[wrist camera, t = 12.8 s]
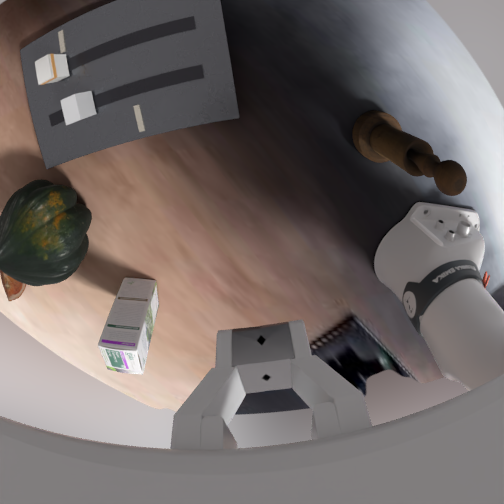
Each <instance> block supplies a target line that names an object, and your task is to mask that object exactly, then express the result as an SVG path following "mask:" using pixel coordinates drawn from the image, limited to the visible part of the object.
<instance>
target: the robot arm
mask: <svg viewBox="0 0 504 504" xmlns="http://www.w3.org/2000/svg"><path fill="white" fill-rule="evenodd" d="M425 210H426V211H425ZM424 211H425V212H424ZM479 227H480V223H479V216H478V213H477V212H476V211H475V210H471V209H465V208H459V207H452V206H445V205H439V204H431V203H424V202H417V203H416V204H414V205H413V206H412V208H411V209H410V211H409V212H408V214H407V215H406V217H405V218H404V219H403V220H402V221H400V222H399V223H398V224H396V225H395V226H394V227H393V228H392V229H391V230H390V231H389V232H388V233H387V234H386V235H385V237H384V238H383V239H382V241H381V243H380V245H379V247H378V249H377V251H376V255H375V259H374V269H375V273H376V276H377V277H378V279H379V280H380V281H381V282H382V283H383V284H385V285H386V286H387V287H388V288H389V289H390V290H391V291H392V292H393V293H394V294H395V295H396V296H397V297H398V298H399V299H400V301H401V302H402V303H403V306H404V308H405V310H406V313H407V315H408V317H409V319H410V320H411V322H412V324H413V326H414V327H415V329H416V331H417V332H418V334H419V335H420V336H421V337H423V338H424V339H425V341H426V343H427V345H428V347H429V349H430V351H431V353H432V355H433V357H434V359H435V360H436V362H437V364H438V366H439V368H440V371H441V373H442V374H443V376H444V377H445V378H447V379H449V380H451V381H458V382H460V383H461V384H462V385H463V386H464V387H465V388H466V389H467V390H468V392H466V393H464V394H462V395H460V396H457V397H455V398H453V399H451V400H448V401H446V402H443V403H441V404H438V405H436V406H433V407H431V408H428V409H425V410H423V411H420V412H417V413H415V414H411V415H409V416H405V417H402V418H400V419H396V420H393V421H390V422H386V423H383V424H380V425H376V426H372V424H371V420H370V417H369V413H368V410H367V406H366V403H365V400H364V396H363V393H361V392H360V391H359V390H358V389H357V388H355V387H354V386H353V385H352V384H350V383H349V382H348V381H347V380H345V379H344V378H343V377H342V376H340V375H339V374H338V373H337V372H336V371H334V370H333V369H332V368H331V367H330V366H328V365H327V364H326V363H325V362H323V361H322V360H321V359H320V358H319V357H317V356H316V355H314V356H312V355H311V350H310V346H309V342H308V338H307V333H306V329H305V325H304V321H303V320H297V321H290V322H283V323H277V324H270V325H263V326H259V327H249V328H239V329H230V330H219V331H218V333H217V344H216V367H215V368H211V370H210V371H209V372H208V373H207V375H206V376H205V377H204V379H203V380H202V381H201V382H200V384H199V385H198V386H197V387H196V389H195V390H194V391H193V392H192V394H191V395H190V396H189V397H188V399H187V400H186V401H185V402H184V404H183V405H182V406H181V407H180V408H179V410H178V411H177V412H176V413H175V415H174V420H173V430H172V439H171V449H160V448H146V447H136V446H127V445H119V444H111V443H105V442H98V441H92V440H87V439H82V438H77V437H71V436H67V435H63V434H58V433H54V432H50V431H46V430H43V429H39V428H36V427H32V426H29V425H26V424H22V423H19V422H16V421H13V420H10V419H7V418H5V417H1V416H0V504H504V311H503V310H502V308H501V307H500V306H499V305H498V303H497V302H496V301H495V300H494V299H493V297H492V296H491V295H490V294H489V293H488V291H487V290H486V289H485V288H486V286H487V283H488V281H489V278H490V275H489V276H488V278H487V272H485V274H484V277H483V280H482V278H481V275H480V273H479V271H480V268H481V265H482V261H483V257H484V251H485V243H484V239H483V237H482V235H481V234H480V232H479ZM486 278H487V280H486ZM287 388H293V390H294V391H295V392H296V393H297V394H298V395H299V396H300V397H301V398H302V400H303V401H304V402H305V403H306V404H307V405H308V406H309V407H310V408H311V409H312V410H313V416H312V429H311V438H312V440H309V441H303V442H297V443H289V444H281V445H273V446H264V447H252V448H239V449H238V448H237V442H236V440H235V439H234V437H233V435H232V434H231V432H230V430H229V428H228V427H227V426H228V425H229V423H230V421H231V420H232V418H233V416H234V414H235V413H236V411H237V409H238V408H239V406H240V404H241V402H242V401H243V399H244V397H245V395H246V393H254V392H262V391H268V390H278V389H287Z"/></svg>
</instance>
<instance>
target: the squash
mask: <svg viewBox="0 0 504 504" xmlns="http://www.w3.org/2000/svg"><path fill="white" fill-rule="evenodd" d="M91 220H92V216H91V212H90V210H89V209H88V208H87V207H86V206H84V205H83V204H77V195H76V192H75V190H74V189H73V188H70V187H68V186H65V185H54V184H53V183H51V182H49V181H47V180H35V181H33V182H30V183H29V184H27V185H26V186H24V187H23V188H21V189H19V190H18V191H16V192H15V193H14V194H13V195H12V196H11V198H10V199H9V200H8V202H7V204H6V206H5V208H4V210H3V212H2V214H1V216H0V270H1V271H2V272H4V273H5V274H6V275H8V276H10V277H11V278H13V279H15V280H17V281H19V282H21V283H24V284H28V285H31V286H42V285H48V284H56V283H59V282H62V281H64V280H66V279H67V278H68V277H69V276H71V275H72V274H73V273H74V272H75V271H76V270H77V268H78V267H79V264H80V263H81V261H82V260H83V259H84V257H85V255H86V253H87V250H88V245H89V240H88V236H87V234H86V232H87V231H88V228H89V226H90V223H91Z"/></svg>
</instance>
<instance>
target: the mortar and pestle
mask: <svg viewBox="0 0 504 504" xmlns="http://www.w3.org/2000/svg"><path fill="white" fill-rule="evenodd" d="M353 142H354V145H355V147H356V149H357V150H358V151H359V152H360V153H361V154H362V155H363V156H365V157H366V158H368V159H369V160H371V161H374V162H379V163H381V162H386V161H389V160H390V161H391V162H393V163H394V164H396V165H398V166H399V167H400V168H402V169H403V170H405V171H406V172H408V173H409V174H410V175H413V176H422V175H425V176H427V177H434V180H435V183H436V185H437V187H438V189H439V190H440V191H441V192H442V193H444V194H446V195H449V196H455V195H458V194H460V193H461V192H462V191H463V190H464V188H465V186H466V183H467V177H466V173H465V171H464V169H463V167H462V166H461V165H460V164H459V163H457V162H455V161H452V160H446V161H442V162H440V159H439V158H438V156H436V155H434V154H433V150H432V148H431V146H430V145H429V144H428V143H427V142H426V141H424V140H422V139H419V138H417V137H415V136H412V135H410V134H408V133H406V132H403V131H402V129H401V126H400V124H399V123H398V121H397V120H396V119H395V118H394V117H393V116H391V115H389V114H387V113H384V112H381V111H377V110H372V111H368V112H365V113H364V114H362V115H361V116H360V117H359V118H358V119H357V120H356V122H355V124H354V127H353Z"/></svg>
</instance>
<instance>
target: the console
mask: <svg viewBox="0 0 504 504" xmlns="http://www.w3.org/2000/svg"><path fill="white" fill-rule="evenodd" d="M20 53H21V61H22V68H23V75H24V81H25V86H26V92H27V97H28V102H29V106H30V111H31V115H32V120H33V124H34V128H35V132H36V135H37V139H38V143H39V146H40V150H41V153H42V156H43V160H44V163H45V166H46V169H49V168H52V167H54V166H57V165H59V164H62V163H65V162H67V161H70V160H73V159H76V158H79V157H81V156H84V155H87V154H90V153H93V152H96V151H99V150H103V149H106V148H109V147H112V146H116V145H119V144H122V143H126V142H129V141H133V140H137V139H140V138H144V137H148V136H152V135H156V134H160V133H164V132H169V131H173V130H177V129H182V128H187V127H191V126H196V125H201V124H207V123H212V122H218V121H224V120H230V119H236V118H239V110H238V103H237V97H236V91H235V85H234V78H233V72H232V66H231V60H230V54H229V48H228V42H227V36H226V30H225V23H224V18H223V12H222V6H221V0H116V1H113V2H111V3H108V4H106V5H103V6H101V7H99V8H96V9H94V10H92V11H90V12H87V13H85V14H83V15H81V16H79V17H77V18H75V19H73V20H71V21H69V22H67V23H65V24H63V25H61V26H59V27H57V28H56V29H54V30H52V31H50V32H48V33H47V34H45V35H43V36H42V37H40V38H38V39H37V40H35V41H33V42H32V43H30V44H29V45H27V46H25V47H24V48H22V49H21V50H20ZM47 54H66V58H67V64H68V70H69V75H70V76H68V77H66V78H64V79H62V80H60V81H58V82H54V83H47V84H44V85H38V79H37V74H36V67H35V61H37V60H39V59H40V58H42V57H44V56H46V55H47ZM88 91H92V96H93V101H94V105H95V110H96V114H95V115H93V116H90V117H87V118H85V119H82V120H79V121H77V122H74V123H72V124H69V125H66V123H65V119H64V115H63V110H62V106H61V101H60V100H62V99H65V98H67V97H69V96H71V95H74V94H77V93H82V92H88Z"/></svg>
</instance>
